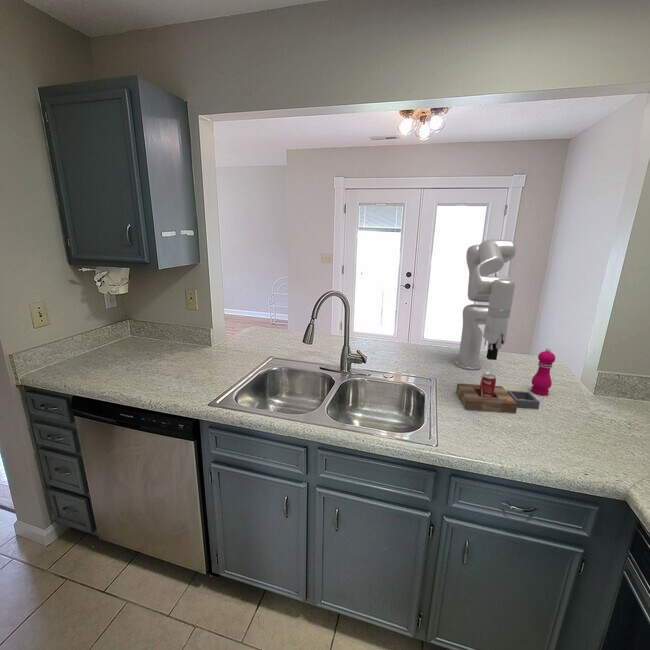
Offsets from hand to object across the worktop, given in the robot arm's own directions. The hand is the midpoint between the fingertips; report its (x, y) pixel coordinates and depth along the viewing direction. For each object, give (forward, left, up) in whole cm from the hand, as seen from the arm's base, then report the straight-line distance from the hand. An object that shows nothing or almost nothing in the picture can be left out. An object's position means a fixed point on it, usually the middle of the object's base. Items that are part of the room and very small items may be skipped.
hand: (491, 358), depth 131 cm
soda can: (0, 0, -19) cm, 19 cm away
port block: (0, 0, -19) cm, 19 cm away
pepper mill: (-13, +27, -19) cm, 35 cm away
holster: (-2, +15, -19) cm, 24 cm away
